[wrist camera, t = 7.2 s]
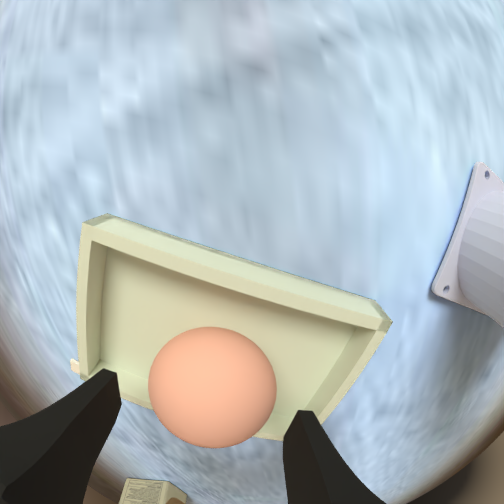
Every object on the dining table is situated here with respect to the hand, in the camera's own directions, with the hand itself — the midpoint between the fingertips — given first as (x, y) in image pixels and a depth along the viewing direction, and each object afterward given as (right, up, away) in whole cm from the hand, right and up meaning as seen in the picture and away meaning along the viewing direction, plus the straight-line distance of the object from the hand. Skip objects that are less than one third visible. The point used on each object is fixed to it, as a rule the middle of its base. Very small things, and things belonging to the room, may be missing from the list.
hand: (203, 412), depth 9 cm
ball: (0, 0, +1) cm, 2 cm away
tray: (0, +2, +4) cm, 5 cm away
